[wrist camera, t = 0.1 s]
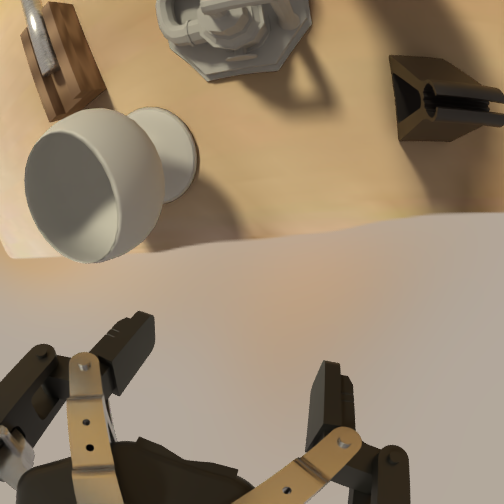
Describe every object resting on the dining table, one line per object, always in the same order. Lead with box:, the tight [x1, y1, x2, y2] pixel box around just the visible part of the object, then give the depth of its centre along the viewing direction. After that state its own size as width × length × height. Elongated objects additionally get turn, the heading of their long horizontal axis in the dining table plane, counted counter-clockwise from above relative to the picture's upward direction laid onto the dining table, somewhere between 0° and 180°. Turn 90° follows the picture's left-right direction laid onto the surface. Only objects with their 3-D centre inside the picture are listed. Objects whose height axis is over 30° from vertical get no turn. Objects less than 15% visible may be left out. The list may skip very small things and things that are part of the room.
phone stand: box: [389, 55, 504, 142], centre depth 18 cm, size 9×6×12 cm, turn 10°
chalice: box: [24, 107, 197, 263], centre depth 27 cm, size 14×14×15 cm
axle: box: [21, 0, 61, 77], centre depth 22 cm, size 16×3×3 cm, turn 24°
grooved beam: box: [20, 2, 107, 122], centre depth 26 cm, size 16×7×5 cm, turn 24°
